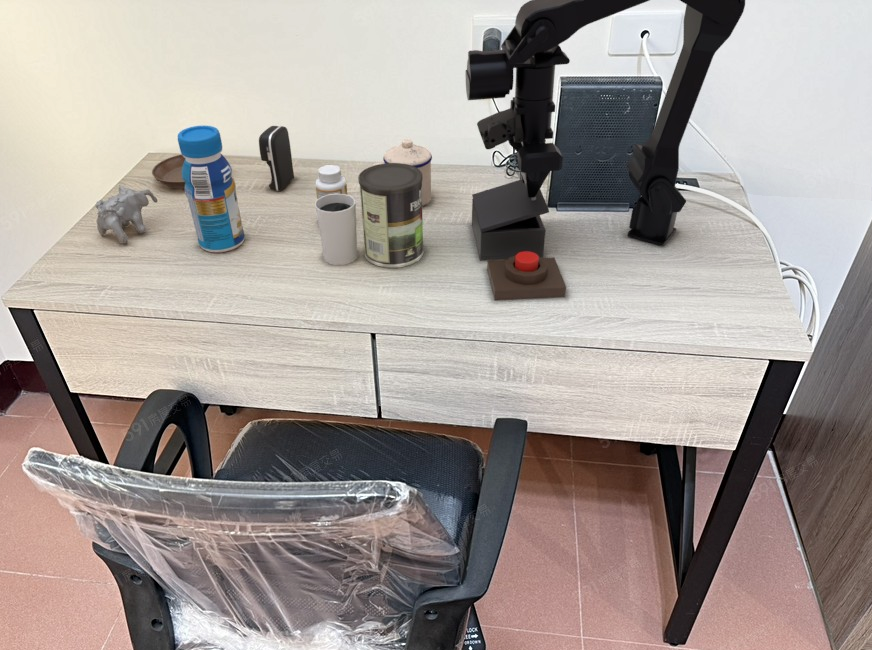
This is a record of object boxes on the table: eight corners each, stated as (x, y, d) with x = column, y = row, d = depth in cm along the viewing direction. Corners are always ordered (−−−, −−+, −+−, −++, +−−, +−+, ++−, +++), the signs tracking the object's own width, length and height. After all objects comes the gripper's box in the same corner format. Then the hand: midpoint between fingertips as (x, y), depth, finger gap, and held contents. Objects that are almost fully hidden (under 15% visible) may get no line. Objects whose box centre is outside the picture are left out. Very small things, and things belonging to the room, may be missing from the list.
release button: (535, 260, 113) (536, 250, 112) (539, 272, 110) (540, 262, 109) (513, 261, 113) (513, 251, 112) (516, 273, 110) (517, 263, 109)
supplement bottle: (334, 211, 134) (329, 160, 128) (356, 220, 132) (351, 167, 125) (313, 223, 131) (307, 170, 125) (335, 232, 128) (329, 178, 122)
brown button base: (553, 267, 117) (555, 248, 115) (565, 297, 110) (567, 278, 108) (487, 270, 117) (487, 251, 114) (494, 301, 110) (495, 281, 108)
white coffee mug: (342, 242, 125) (337, 189, 119) (367, 255, 122) (363, 202, 115) (313, 256, 122) (306, 203, 115) (338, 270, 118) (332, 216, 112)
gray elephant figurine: (91, 242, 128) (77, 203, 123) (129, 212, 137) (117, 174, 132) (135, 248, 126) (123, 208, 121) (171, 217, 135) (161, 179, 130)
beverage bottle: (189, 243, 127) (160, 134, 114) (227, 226, 131) (204, 118, 118) (216, 259, 122) (190, 147, 109) (255, 240, 127) (235, 130, 114)
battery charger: (279, 176, 147) (270, 121, 140) (295, 178, 146) (287, 123, 139) (263, 190, 142) (254, 135, 135) (281, 192, 141) (272, 136, 134)
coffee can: (428, 240, 125) (427, 163, 116) (417, 270, 117) (416, 191, 108) (371, 236, 127) (366, 160, 118) (357, 265, 119) (350, 187, 110)
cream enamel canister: (434, 189, 140) (433, 131, 133) (430, 211, 133) (429, 151, 126) (374, 188, 142) (370, 131, 134) (367, 209, 135) (363, 150, 127)
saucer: (142, 179, 149) (138, 166, 147) (204, 157, 156) (201, 145, 154) (177, 201, 140) (173, 188, 138) (240, 177, 148) (238, 165, 146)
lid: (535, 178, 123) (530, 155, 121) (549, 212, 114) (544, 187, 111) (473, 197, 125) (466, 175, 122) (481, 232, 116) (475, 208, 113)
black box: (529, 222, 129) (532, 195, 125) (542, 258, 119) (545, 229, 116) (471, 225, 129) (472, 198, 125) (479, 261, 119) (481, 233, 116)
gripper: (474, 78, 115) (474, 170, 125) (489, 121, 101) (487, 220, 111) (542, 73, 115) (537, 165, 125) (567, 115, 101) (558, 214, 111)
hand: (528, 189), depth 118 cm, fingers closed on lid, 5 cm apart
